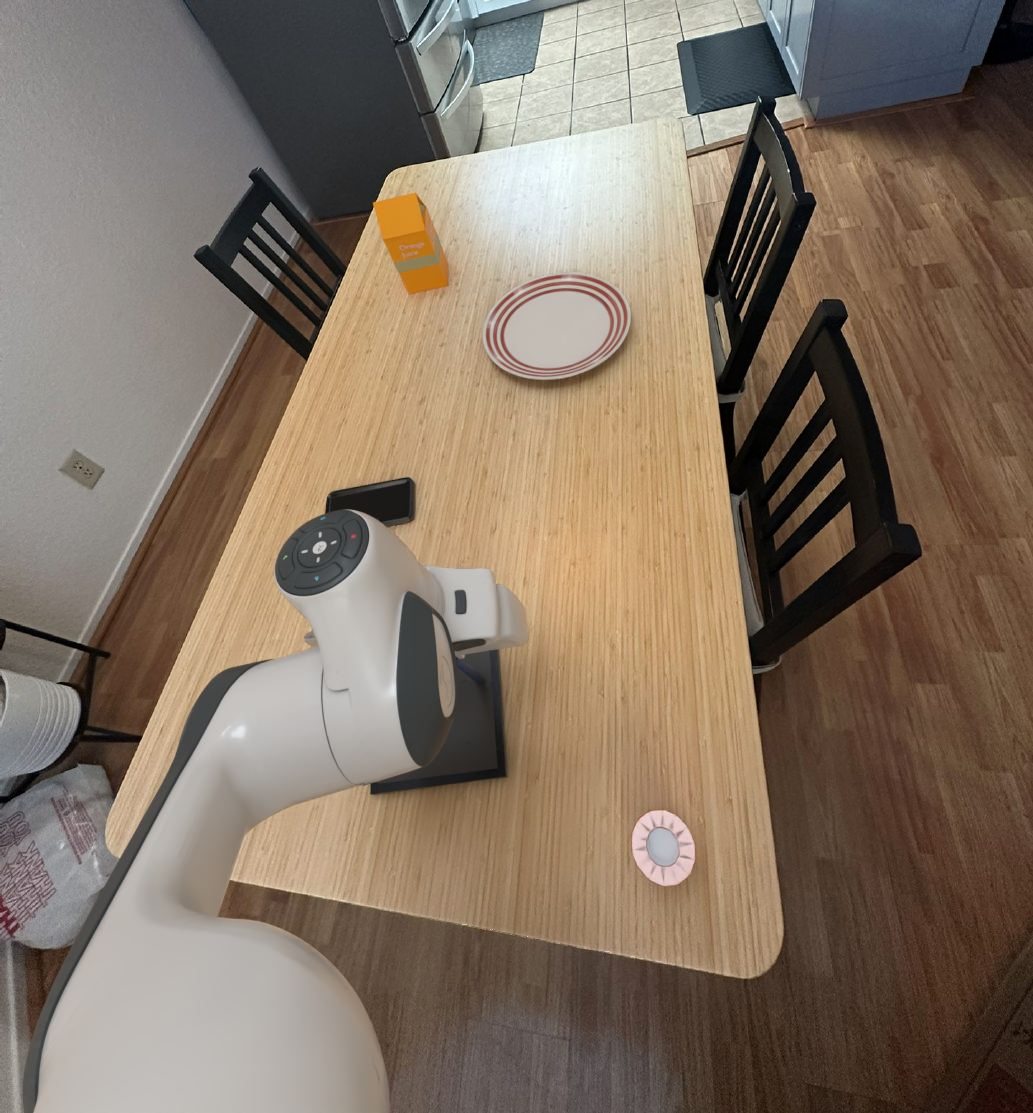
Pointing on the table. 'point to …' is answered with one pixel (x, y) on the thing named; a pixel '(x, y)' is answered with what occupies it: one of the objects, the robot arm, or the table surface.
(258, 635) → the table surface
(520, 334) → the dinner plate
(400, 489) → the phone
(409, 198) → the orange juice
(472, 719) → the tablet
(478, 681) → the stylus
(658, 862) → the holder
